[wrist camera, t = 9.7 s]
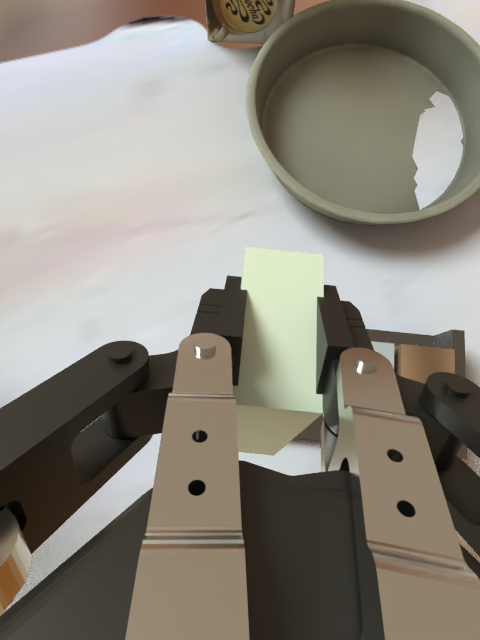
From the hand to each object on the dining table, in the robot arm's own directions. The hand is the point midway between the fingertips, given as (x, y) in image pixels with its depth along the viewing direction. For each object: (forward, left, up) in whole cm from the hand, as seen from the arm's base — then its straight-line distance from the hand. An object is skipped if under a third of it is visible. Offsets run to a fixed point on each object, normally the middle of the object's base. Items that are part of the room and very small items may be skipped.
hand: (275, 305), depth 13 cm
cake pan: (-14, +23, -23) cm, 35 cm away
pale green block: (+3, -2, -10) cm, 11 cm away
